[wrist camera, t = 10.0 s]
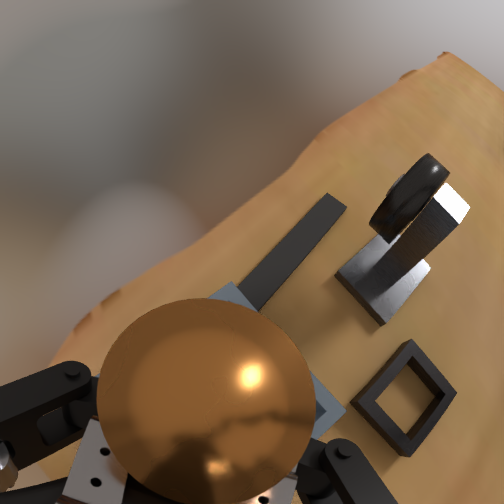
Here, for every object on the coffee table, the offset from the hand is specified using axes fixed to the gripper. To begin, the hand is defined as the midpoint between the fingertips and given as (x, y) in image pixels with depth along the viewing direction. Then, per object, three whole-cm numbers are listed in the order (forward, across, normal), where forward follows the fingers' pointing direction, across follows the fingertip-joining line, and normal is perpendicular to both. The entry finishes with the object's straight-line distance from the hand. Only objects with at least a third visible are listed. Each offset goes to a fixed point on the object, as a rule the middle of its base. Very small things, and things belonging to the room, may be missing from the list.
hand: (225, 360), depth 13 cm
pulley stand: (+15, -12, -2) cm, 19 cm away
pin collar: (+8, -15, +6) cm, 18 cm away
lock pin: (+3, 0, +6) cm, 6 cm away
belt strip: (+16, -3, -2) cm, 16 cm away
